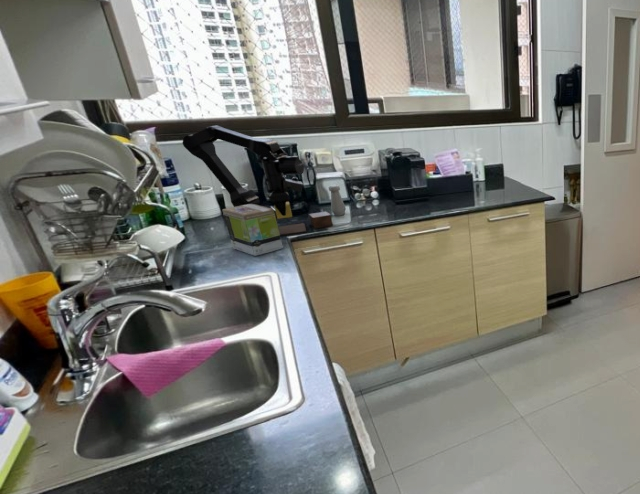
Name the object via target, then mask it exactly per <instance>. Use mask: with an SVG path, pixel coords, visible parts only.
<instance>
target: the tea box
mask: <svg viewBox="0 0 640 494" xmlns="http://www.w3.org/2000/svg"><path fill="white" fill-rule="evenodd" d="M221 211H222V214H223V218H224V221H225V225H226V228H227V233H228V235H229V239H230V242H231V245H232V248H233V250H238V251H240V252H243V253H246V254H249V255H251V256H254V257H256V256H261V255H264V254H268V253H271V252H275V251H278V250H281V249H283V248H284V247H283V241H282V237H281V236H280V233H279V230H278V227H279V225H278V222H277V216H276V212H275V209H274V208H271V207H267V206H263V205H260V206H259V205H255V204H247V205H242V206H237V207H234V206H232V207H227V208H223V209H221Z"/></svg>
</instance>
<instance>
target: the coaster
mask: <svg viewBox="0 0 640 494" xmlns="http://www.w3.org/2000/svg"><path fill="white" fill-rule="evenodd" d="M278 230H279V233H280V237H282V236H290V235H297V234H302V233H303V234H304V233H307V228H306V224H305V222H302V223H294V224H287V225H280V226H279V225H278Z"/></svg>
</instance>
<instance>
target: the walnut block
mask: <svg viewBox="0 0 640 494" xmlns="http://www.w3.org/2000/svg"><path fill="white" fill-rule="evenodd" d="M308 216H309V220H310V221H309V222H310V225H311V226H312V227H313V228H314V229H319V228H325V227H331V226H333V220H332V215H331V214H330V213H329V212H328V211H320V212H315V213H314V212H313V213H308Z"/></svg>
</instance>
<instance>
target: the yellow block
mask: <svg viewBox="0 0 640 494" xmlns="http://www.w3.org/2000/svg"><path fill="white" fill-rule="evenodd" d="M273 209H274V212H275V216H276V220H280V219H287V218H288V219H289V218H293V213H292V209H291V204H290V201H287V202H286V215H285V216H282V214H281V213H280V212H279V210H278V209H277V208H276V207H275V205H274V204H273Z"/></svg>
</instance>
